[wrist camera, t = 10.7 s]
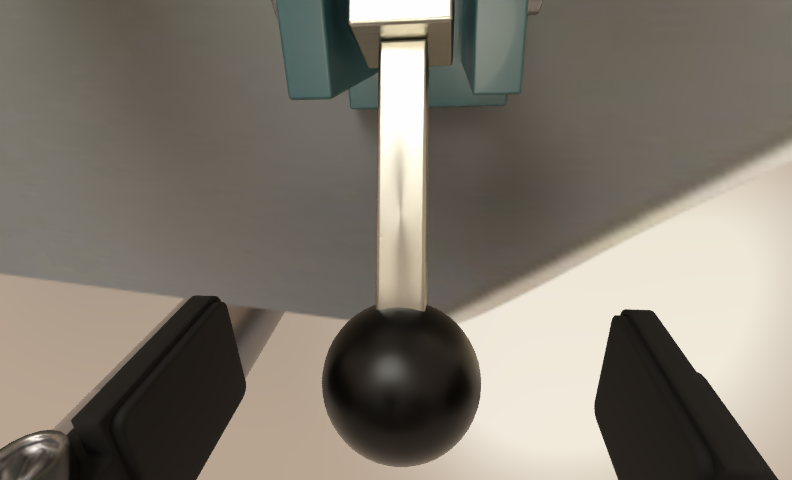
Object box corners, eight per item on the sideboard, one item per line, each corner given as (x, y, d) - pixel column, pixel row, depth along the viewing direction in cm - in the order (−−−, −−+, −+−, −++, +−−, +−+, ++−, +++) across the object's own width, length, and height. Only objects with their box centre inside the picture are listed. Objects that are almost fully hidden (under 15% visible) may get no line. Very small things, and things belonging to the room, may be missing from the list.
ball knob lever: (475, 428, 12) (486, 512, 8) (342, 420, 12) (298, 496, 8) (480, -31, 12) (495, -151, 8) (347, -23, 12) (304, -134, 8)
